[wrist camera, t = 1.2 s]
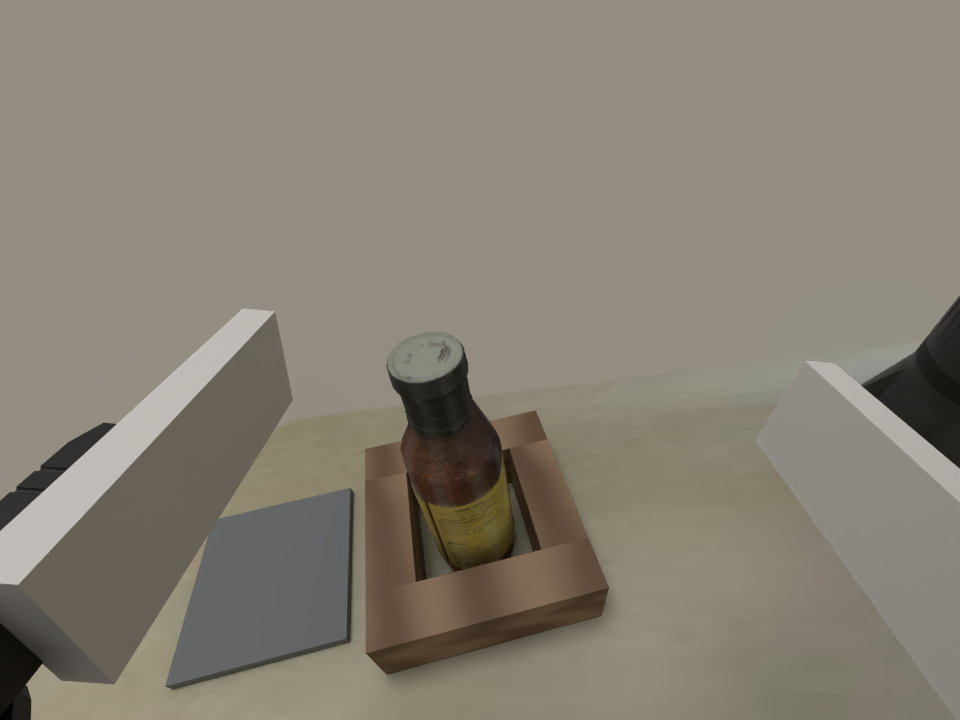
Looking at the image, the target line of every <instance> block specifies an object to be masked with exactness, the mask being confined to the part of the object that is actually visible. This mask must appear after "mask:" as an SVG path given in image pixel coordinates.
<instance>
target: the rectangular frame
mask: <svg viewBox="0 0 960 720" xmlns="http://www.w3.org/2000/svg"><path fill="white" fill-rule="evenodd" d="M489 422H490V423H491V424H492V426H493V427H494V428H495V430H496V432H497V433H498V436H499V438H500V442H501V446H502V452H503V457H504V465H505V470H506V475H507V483H510V482H512V483H513V487H514V490H515V493H516V497H517V500H518V503H519V506H520V510H521V513H522V516H523V520H524V523H525V526H526V529H527V533H528V536H529V539H530V543H531V546H532V549H533V552H531V553H527V554H523V555H519V556H515V557H511V558H507V559H504V560H500V561H496V562H492V563H488V564H484V565H480V566H476V567H472V568H469V569H465V570H461V571H457V572H453V573H449V574H445V575H441V576H437V577H434V578H430V579H426V573H425V564H424V554H423V545H422V536H421V526H420V517H419V508H418V505H419V502H418V500H417V498H416V495H415V493H414V490H413V488H412V486H411V482H410V476H409V474H408V471H407V469H406V467H405V464H404V462H403V457H402V452H401V450H400V448H401V442H402V441H400V442H395V443H391V444H386V445H382V446H377V447H373V448H369V449H365V532H366V654H367V655H368V656H369V657H370V658H371V659H372V660H373V661H374V662H375V663H376V664H377V665H378V666H379V667H380V668H381V669H382V670H383V671H384V672H385V673H386V674H390V673H394V672H397V671H401V670H405V669H408V668H412V667H416V666H419V665H423V664H426V663H430V662H434V661H437V660H441V659H445V658H448V657H452V656H456V655H459V654H463V653H466V652H470V651H474V650H477V649H481V648H485V647H488V646H492V645H496V644H499V643H503V642H506V641H510V640H514V639H517V638H521V637H525V636H528V635H532V634H536V633H539V632H543V631H546V630H550V629H554V628H557V627H561V626H565V625H568V624H572V623H576V622H579V621H583V620H586V619H590V618H594V617H597V616H601V615H602V611H603V607H604V604H605V600H606V596H607V593H608V589H609V587H608V585H607V582H606V580H605V577H604V575H603V573H602V570H601V568H600V565H599V563H598V560H597V558H596V556H595V553H594V551H593V548H592V546H591V544H590V541H589V539H588V536H587V534H586V531H585V529H584V527H583V524H582V522H581V519H580V517H579V514H578V512H577V510H576V507H575V505H574V502H573V500H572V498H571V495H570V493H569V490H568V488H567V485H566V483H565V481H564V478H563V476H562V473H561V471H560V469H559V466H558V464H557V461H556V459H555V456H554V454H553V452H552V449H551V447H550V444H549V442H548V440H547V437H546V435H545V432H544V430H543V427H542V425H541V423H540V420H539V418H538V415H537V413H536V411H532V412H528V413H523V414H519V415H514V416H510V417H506V418H501V419H497V420H492V421H489Z"/></svg>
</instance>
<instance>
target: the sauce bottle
mask: <svg viewBox="0 0 960 720" xmlns="http://www.w3.org/2000/svg"><path fill="white" fill-rule="evenodd" d="M386 366H387V370H388V373H389V377H390V380H391V383H392V386H393V388H394V389H395V390H396V392H397V393H399V395H400V396H401V398H402V401H403V404H404V407H405V409H406V411H405V412H406V415H407V420H408V426H407V428H406V431H405V433H404V435H403V438H402V442H401V448H400V450H401V452H402V457H403V462H404V464H405V467H406V469H407V471H408V474H409V476H410V482H411V486H412V488H413V490H414V493H415V495H416V498H417V500H418V502H419V505H420V507H421V509H422V512H423V514H424V516H425V519H426V521H427V524H428V526H429V528H430V531H431V533H432V535H433V538H434V540H435V542H436V545H437V547H438V550H439V552H440V553H441V555H442V556H443V558H444V559H445V560H446V561H447V563H448V564H449V565H450V566H451V567H452V568H453V569H454V570H455V571H456V572H457V571H461V570H465V569H469V568H472V567H476V566H480V565H484V564H488V563H492V562H496V561H500V560H504V559H507V558H508V556H509V555H510V553H511V550H512V545H513V536H514V520H513V515H512V508H511V502H510V494H509V487H508V483H507V475H506V470H505V465H504V457H503V452H502V446H501V442H500V438H499V436H498V433H497V432H496V430H495V428H494V427H493V426H492V424H491V423H490V422H489V420H488V419H487V418H486V416H485V415H484V414H483V412H482V411H481V410H480V408H479V407H478V406H477V404H476V403H475V402H474V400H473V399H472V395H471V394H470V391H469V385H468V379H467V374H468V362H467V359H466V354H465V352H464V348H463V346H462V344H461V343H460V342H459V340H458V339H456V338H455V337H453V336H452V335H450V334H447V333H442V332H428V333H423V334H418V335H415V336H412V337H409V338H407V339H405V340H403V341H402V342H400V343H399V344H398V345H397V346H396V347H395V348H394V349H393V350H392V351H391V353H390V355H389V356H388V360H387V364H386Z"/></svg>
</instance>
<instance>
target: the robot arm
mask: <svg viewBox="0 0 960 720" xmlns="http://www.w3.org/2000/svg"><path fill="white" fill-rule="evenodd" d="M292 400H293V398H292V394H291V389H290V384H289V379H288V374H287V369H286V364H285V359H284V354H283V349H282V344H281V339H280V334H279V329H278V324H277V320H276V314H275V311H264V310H254V309H242V310H241V311H240V312H239V313H238V314H237V315H236V316H234V318H232V319H231V320H230V321H229V322H228V323H227V324H226V325H225V326H223V327H222V328H221V329H220V330H219V331H218V332H217V333H216V334H215V335H214V336H213V337H212V338H210V339H209V340H208V341H207V342H206V343H205V344H204V345H203V346H202V347H201V348H199V349H198V350H197V351H196V352H195V353H194V354H193V355H192V356H191V357H190V358H189V359H187V360H186V362H184V363H183V364H182V365H181V366H180V367H179V368H178V369H177V370H176V371H175V372H173V373H172V374H171V375H170V376H169V377H168V378H167V379H166V380H165V381H164V382H162V383H161V384H160V385H159V386H158V387H157V388H156V389H155V390H154V391H153V392H152V393H150V395H148V396H147V397H146V398H145V399H144V400H143V401H142V402H141V403H140V404H138V405H137V406H136V407H135V408H134V409H133V410H132V411H131V412H130V413H129V414H127V415H126V416H125V417H124V418H123V419H122V420H121V421H120V422H119V423H118V424H110V423H102V424H101V425H99V426H97V427H95V428H93V429H92V430H90V431H88V432H86V433H84V434H82V435H81V436H79V437H77V438H75V439H73V440H72V441H70V442H68V443H67V444H66V445H65V446H63V447H62V448H61V449H60V450H59V451H58V452H56V453H55V454H54V455H53V456H52V457H51V458H49V459H48V460H47V461H46V462H45V463H44V464H42V465H41V469H40V470H39V471H34V472H33V473H32V474H31V475H30V476H28V477H27V478H26V479H25V480H24V481H23V482H22V483H20V484H19V485H18V486H17V489H16V491H15V492H10V493H9V494H7V495H6V496H5V497H4V498H3V499H2V500H1V501H0V720H31V698H30V694H29V691H28V687H27V686H26V684H27V682H28V681H29V680H30V679H31V677H32V676H33V675H34V673H35V672H36V671H37V669H38V668H39V667H40V666H41V664H43V665H45V666H46V667H47V668H48V669H49V670H50V671H51V672H52V673H54V674H55V675H56V676H57V677H58V678H59V679H60V680H62V681H76V682H90V683H104V684H115V682H116V681H117V679H118V678H119V676H120V674H121V673H122V671H123V670H124V668H125V666H126V665H127V663H128V662H129V660H130V658H131V657H132V655H133V654H134V652H135V651H136V649H137V647H138V646H139V644H140V643H141V641H142V639H143V638H144V636H145V635H146V633H147V631H148V630H149V628H150V627H151V625H152V623H153V622H154V620H155V619H156V617H157V615H158V614H159V612H160V611H161V609H162V607H163V606H164V604H165V603H166V601H167V600H168V598H169V596H170V595H171V593H172V592H173V590H174V588H175V587H176V585H177V584H178V582H179V580H180V579H181V577H182V576H183V574H184V572H185V571H186V569H187V568H188V566H189V564H190V563H191V561H192V560H193V558H194V556H195V555H196V553H197V552H198V550H199V548H200V547H201V545H202V544H203V542H204V541H205V539H206V537H207V536H208V534H209V533H210V531H211V529H212V528H213V526H214V525H215V523H216V521H217V520H218V518H219V517H220V515H221V513H222V512H223V510H224V509H225V507H226V505H227V504H228V502H229V501H230V499H231V497H232V496H233V494H234V493H235V491H236V490H237V488H238V486H239V485H240V483H241V482H242V480H243V478H244V477H245V475H246V474H247V472H248V470H249V469H250V467H251V466H252V464H253V462H254V461H255V459H256V458H257V456H258V454H259V453H260V451H261V450H262V448H263V446H264V445H265V443H266V442H267V440H268V439H269V437H270V435H271V434H272V432H273V431H274V429H275V427H276V426H277V424H278V423H279V421H280V419H281V418H282V416H283V415H284V413H285V411H286V410H287V408H288V407H289V405H290V403H291V402H292ZM755 441H756V442H757V444H758V445H759V447H760V448H761V449H762V451H763V452H764V453H765V455H766V456H767V458H768V459H769V460H770V462H771V463H772V465H773V466H774V467H775V469H776V470H777V472H778V473H779V474H780V476H781V477H782V479H783V480H784V481H785V483H786V484H787V486H788V487H789V488H790V490H791V491H792V493H793V494H794V495H795V497H796V498H797V500H798V501H799V502H800V504H801V505H802V507H803V508H804V509H805V511H806V512H807V513H808V515H809V516H810V518H811V519H812V520H813V522H814V523H815V525H816V526H817V527H818V529H819V530H820V532H821V533H822V534H823V536H824V537H825V539H826V540H827V541H828V543H829V544H830V546H831V547H832V548H833V550H834V551H835V553H836V554H837V555H838V557H839V558H840V560H841V561H842V562H843V564H844V565H845V567H846V568H847V569H848V571H849V572H850V573H851V575H852V576H853V578H854V579H855V580H856V582H857V583H858V585H859V586H860V587H861V589H862V590H863V592H864V593H865V594H866V596H867V597H868V599H869V600H870V601H871V603H872V604H873V606H874V607H875V608H876V610H877V611H878V613H879V614H880V615H881V617H882V618H883V620H884V621H885V622H886V624H887V625H888V627H889V628H890V629H891V631H892V632H893V633H894V635H895V636H896V638H897V639H898V640H899V642H900V643H901V645H902V646H903V647H904V649H905V650H906V652H907V653H908V654H909V656H910V657H911V659H912V660H913V661H914V663H915V664H916V666H917V667H918V668H919V670H920V671H921V673H922V674H923V675H924V677H925V678H926V680H927V681H928V682H929V684H930V685H931V686H932V688H933V689H934V691H935V692H936V693H937V695H938V696H939V698H940V699H941V700H942V702H943V703H944V705H945V706H946V707H947V709H948V710H949V712H950V713H951V714H952V716H953V717H954V719H955V720H960V296H959V297H958V298H957V300H956V301H955V302H954V304H953V305H952V306H951V307H950V308H949V310H948V311H947V312H946V313H945V315H944V316H943V317H942V318H941V320H940V321H939V322H938V323H937V325H936V326H935V327H934V328H933V330H932V331H931V332H930V334H929V335H928V336H927V338H926V339H925V340H924V341H923V343H922V344H921V345H920V346H919V348H918V349H917V350H916V351H915V352H914V353H913V354H911V355H909V356H908V357H906V358H905V359H903V360H901V361H900V362H898V363H896V364H895V365H893V366H891V367H890V368H888V369H886V370H885V371H883V372H881V373H880V374H878V375H877V376H875V377H873V378H872V379H870V380H868V381H867V382H865V383H863V384H862V385H860V384H858V383H857V382H856V381H855V380H854V379H853V378H851V377H850V376H849V375H848V374H847V373H845V372H844V371H843V370H842V369H841V368H839V367H838V366H837V365H836V364H835V363H825V362H814V361H804V363H803V364H802V366H801V367H800V369H799V371H798V372H797V374H796V375H795V377H794V379H793V380H792V382H791V383H790V385H789V387H788V388H787V390H786V391H785V393H784V395H783V396H782V398H781V399H780V401H779V403H778V404H777V406H776V407H775V409H774V411H773V412H772V414H771V416H770V417H769V419H768V420H767V422H766V424H765V425H764V427H763V428H762V430H761V432H760V433H759V435H758V436H757V438H756V440H755Z"/></svg>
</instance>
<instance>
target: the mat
mask: <svg viewBox="0 0 960 720" xmlns="http://www.w3.org/2000/svg"><path fill="white" fill-rule="evenodd" d="M352 519H353V492H352V490H351V488H348V489H344V490H340V491H336V492H331V493H327V494H323V495H318V496H314V497H310V498H306V499H301V500H297V501H293V502H289V503H284V504H280V505H276V506H271V507H267V508H263V509H259V510H254V511H250V512H246V513H241V514H237V515H233V516H229V517H224V518H220V519H218V520H217V521H216V523H215V525H214V526H213V528H212V529H211V531H210V533H209V536H208V539H207V543H206V546H205V550H204V553H203V557H202V560H201V564H200V567H199V571H198V574H197V578H196V581H195V585H194V588H193V591H192V595H191V598H190V602H189V605H188V609H187V612H186V616H185V619H184V623H183V626H182V630H181V633H180V637H179V640H178V644H177V647H176V651H175V654H174V658H173V661H172V665H171V668H170V672H169V675H168V679H167V682H166V687H168V688H171V689H174V688H178V687H182V686H186V685H189V684H193V683H197V682H201V681H204V680H208V679H212V678H216V677H219V676H223V675H227V674H231V673H234V672H238V671H242V670H246V669H249V668H253V667H257V666H261V665H265V664H268V663H272V662H276V661H280V660H283V659H287V658H291V657H295V656H298V655H302V654H306V653H310V652H313V651H317V650H321V649H325V648H328V647H332V646H336V645H340V644H343V643H347V642H350V613H351V566H352Z"/></svg>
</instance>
